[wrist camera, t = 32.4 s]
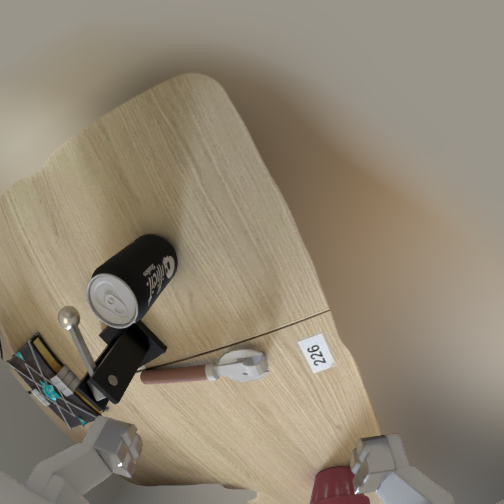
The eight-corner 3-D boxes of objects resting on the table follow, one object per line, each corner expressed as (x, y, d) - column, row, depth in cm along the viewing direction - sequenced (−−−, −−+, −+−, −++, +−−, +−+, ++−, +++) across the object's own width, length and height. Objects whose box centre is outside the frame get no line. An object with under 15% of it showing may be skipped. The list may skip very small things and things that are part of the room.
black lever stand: (102, 331, 41) (60, 382, 29) (129, 308, 39) (86, 363, 27) (136, 366, 43) (104, 422, 31) (167, 347, 41) (136, 409, 29)
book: (14, 353, 48) (2, 365, 43) (37, 329, 43) (22, 343, 39) (76, 420, 53) (67, 434, 48) (111, 409, 49) (102, 426, 44)
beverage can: (152, 221, 35) (101, 255, 24) (190, 259, 36) (154, 307, 25) (123, 256, 37) (73, 297, 25) (159, 290, 38) (120, 342, 27)
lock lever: (69, 311, 35) (51, 313, 32) (78, 300, 34) (60, 302, 31) (109, 395, 33) (92, 403, 30) (121, 389, 32) (104, 397, 29)
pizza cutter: (158, 391, 45) (153, 403, 42) (139, 365, 43) (133, 377, 40) (273, 368, 41) (273, 382, 38) (258, 337, 39) (257, 351, 36)
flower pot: (295, 470, 51) (295, 518, 39) (357, 454, 48) (365, 503, 36) (314, 490, 55) (316, 530, 43) (368, 475, 52) (375, 516, 40)
